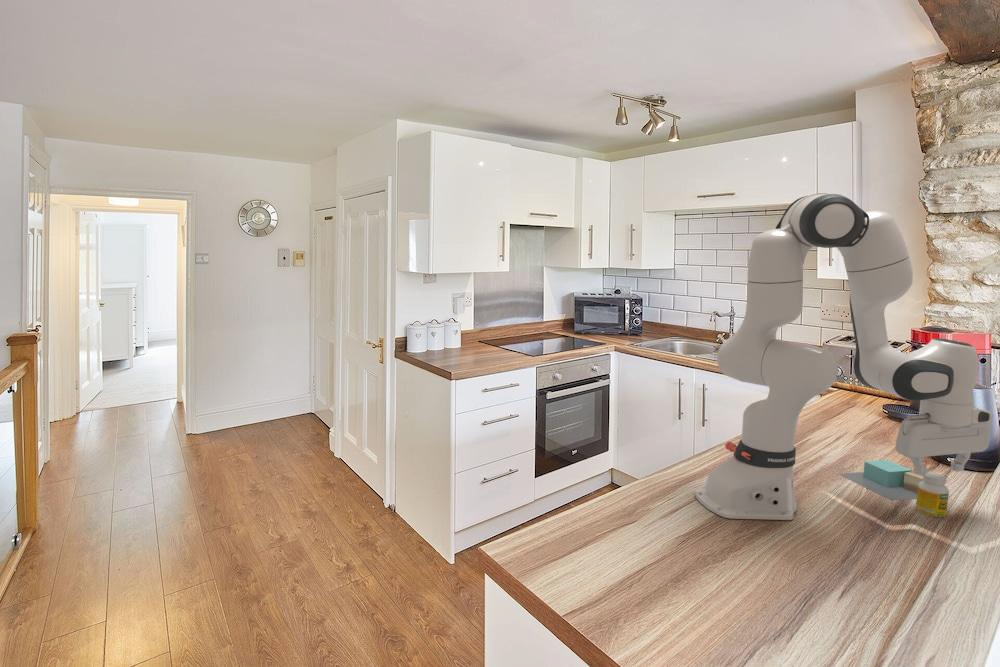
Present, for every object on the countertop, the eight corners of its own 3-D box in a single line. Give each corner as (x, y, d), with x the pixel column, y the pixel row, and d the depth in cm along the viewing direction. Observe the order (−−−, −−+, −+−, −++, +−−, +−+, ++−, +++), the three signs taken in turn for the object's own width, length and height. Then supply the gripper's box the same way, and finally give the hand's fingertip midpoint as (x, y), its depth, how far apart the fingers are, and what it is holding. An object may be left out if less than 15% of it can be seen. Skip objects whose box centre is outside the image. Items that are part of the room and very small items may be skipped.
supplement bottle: (920, 508, 121) (924, 469, 120) (949, 517, 117) (954, 477, 116) (910, 514, 118) (915, 474, 117) (940, 524, 114) (945, 482, 113)
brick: (925, 496, 125) (927, 480, 125) (902, 488, 130) (904, 472, 129) (938, 492, 127) (940, 477, 126) (915, 485, 132) (917, 469, 131)
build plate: (890, 505, 123) (891, 500, 123) (837, 478, 139) (837, 473, 138) (948, 500, 125) (949, 496, 125) (889, 474, 141) (890, 470, 141)
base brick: (887, 487, 130) (888, 472, 130) (863, 476, 137) (864, 461, 136) (910, 485, 131) (912, 470, 131) (885, 474, 138) (887, 460, 138)
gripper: (917, 419, 109) (910, 482, 112) (1000, 413, 112) (992, 474, 114) (890, 411, 116) (884, 470, 118) (970, 405, 118) (963, 463, 121)
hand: (938, 472), depth 116 cm, fingers open, 8 cm apart
